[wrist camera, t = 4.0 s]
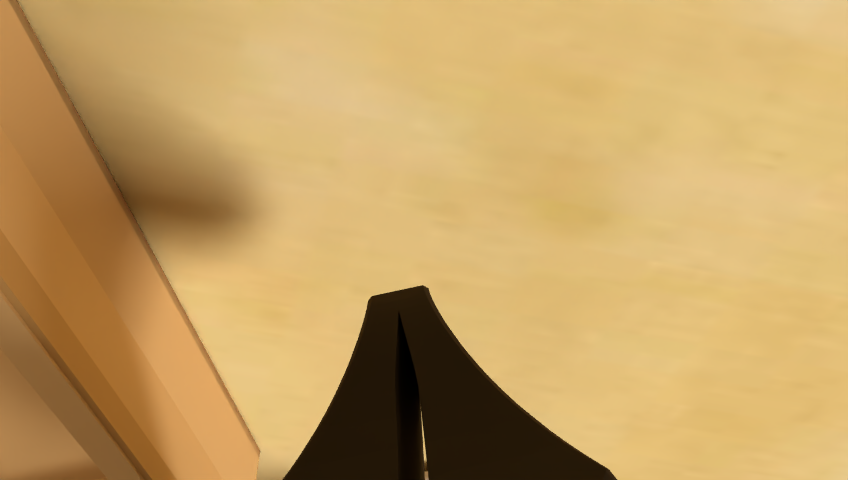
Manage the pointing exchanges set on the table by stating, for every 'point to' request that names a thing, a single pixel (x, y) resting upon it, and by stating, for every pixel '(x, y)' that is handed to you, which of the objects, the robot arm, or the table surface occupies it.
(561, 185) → the table surface
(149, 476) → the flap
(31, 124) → the carton
